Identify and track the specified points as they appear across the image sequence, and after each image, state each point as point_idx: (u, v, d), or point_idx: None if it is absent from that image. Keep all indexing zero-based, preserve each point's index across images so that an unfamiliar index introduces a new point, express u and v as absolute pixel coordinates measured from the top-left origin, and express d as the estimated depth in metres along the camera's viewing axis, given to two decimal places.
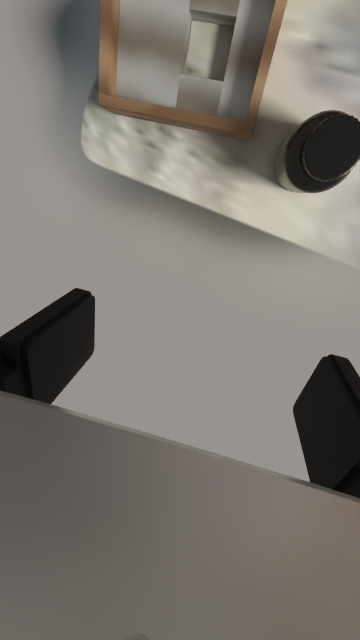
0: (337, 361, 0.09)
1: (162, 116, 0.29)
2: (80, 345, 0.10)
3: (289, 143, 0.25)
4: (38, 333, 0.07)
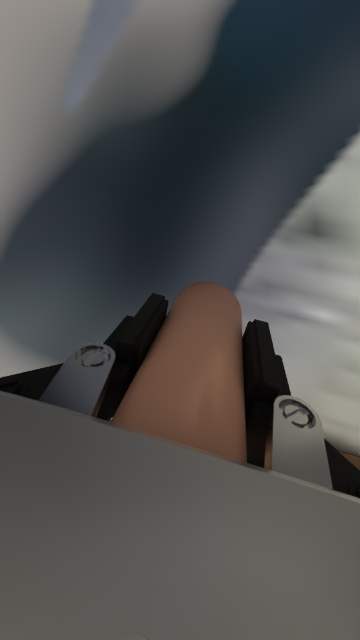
0: (256, 323, 0.10)
1: None
2: None
3: None
4: (142, 335, 0.08)
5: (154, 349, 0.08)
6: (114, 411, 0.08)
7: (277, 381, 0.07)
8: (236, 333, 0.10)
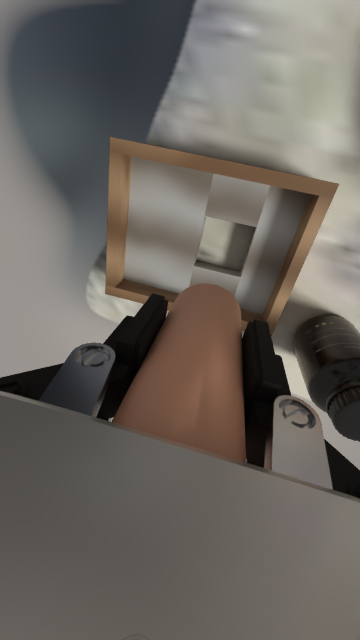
0: (256, 324, 0.10)
1: None
2: None
3: (315, 377, 0.22)
4: (142, 335, 0.08)
5: (153, 351, 0.08)
6: (114, 411, 0.08)
7: (277, 381, 0.07)
8: (235, 335, 0.10)
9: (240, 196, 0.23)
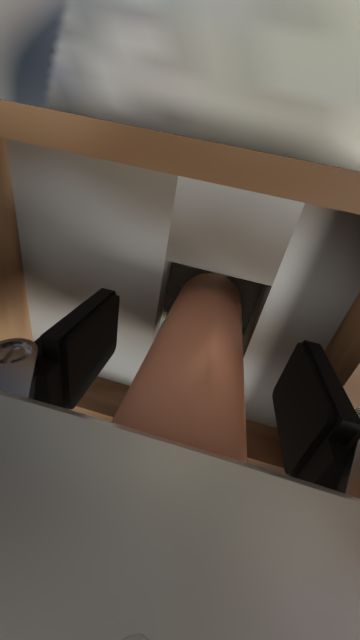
0: (309, 346, 0.09)
1: None
2: (106, 342, 0.10)
3: None
4: (75, 330, 0.08)
5: (166, 326, 0.09)
6: None
7: (356, 419, 0.06)
8: (236, 315, 0.11)
9: (237, 224, 0.10)
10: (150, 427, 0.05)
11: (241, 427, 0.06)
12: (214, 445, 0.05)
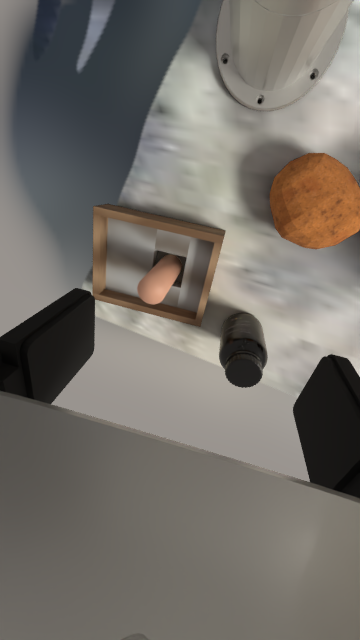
0: (337, 361, 0.09)
1: (138, 310, 0.40)
2: (80, 345, 0.10)
3: (221, 350, 0.36)
4: (38, 333, 0.07)
5: (154, 266, 0.35)
6: None
7: None
8: (175, 265, 0.37)
9: (175, 239, 0.36)
10: (150, 274, 0.31)
11: (167, 279, 0.32)
12: (160, 277, 0.31)
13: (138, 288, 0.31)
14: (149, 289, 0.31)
